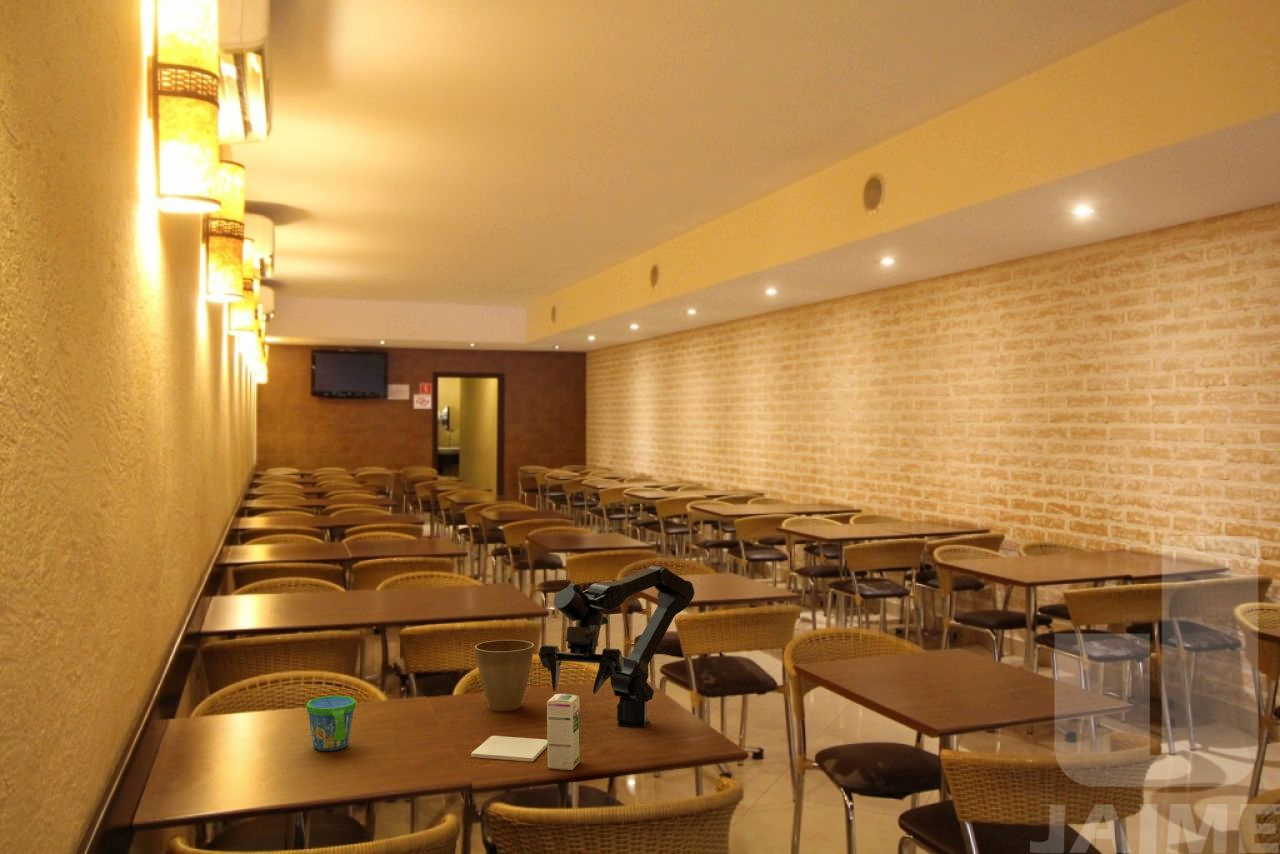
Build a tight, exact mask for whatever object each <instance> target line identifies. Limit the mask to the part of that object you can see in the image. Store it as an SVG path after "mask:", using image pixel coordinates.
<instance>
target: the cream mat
mask: <svg viewBox="0 0 1280 854" xmlns="http://www.w3.org/2000/svg"><path fill="white" fill-rule="evenodd" d="M546 749H547V738H546V739H542V738H532V737H531V738H529V737H518V736H517V737H516V736H515V737H514V736H502V735H491V736H490V737H488V738H487V739H486V740H485V741H484V742H482V743H481V745H479V746H478V747H477V748H476V749H474V750H473V751H472V752H471V753H470V757H471V758H477V759H478V758H481V759H491V760H492V759H493V760H505V761H506V760H507V761H519V762H531V763H533V762H534V761H535V760H536V759H537V758H538V757H539V756H540V755H542V753H543V752H544V751H545V750H546Z"/></svg>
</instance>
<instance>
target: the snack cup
mask: <svg viewBox="0 0 1280 854" xmlns="http://www.w3.org/2000/svg"><path fill="white" fill-rule="evenodd" d="M356 702H357V701H356V699H355V698H354V697H350V696H345V695H328V696H319V697H316V698H313V699H311V700H308V701H307V703H306V705H305V707H306V711H307V713H308V719H309V726H310V732H311V741H312V745H313V748H315V749H316V750H317V751H324V752H333V751H338V750H339V751H340V750H343V749H344V748H346V747H348V745H349V742H350V741H349V740H350V737H351V729H352V724H353V718H354V717H353V715H354V711H355V708H356V707H357V703H356Z"/></svg>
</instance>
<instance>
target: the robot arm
mask: <svg viewBox="0 0 1280 854" xmlns="http://www.w3.org/2000/svg"><path fill="white" fill-rule="evenodd" d="M653 587H654V589H655V590H656V591H658V592H657V595H656V596H657V606H656V609H654V612H653V614H652V615H651V617H650V619H649V620H648V623H647V625H646V626H645V628H644V630H643V631H642V634H641V635H640V637H639V639H638V640H637V642H636V643H635V646H634V648H633V650H632V652H631V653H630V654H629V655H628V656H626V657H624V656H623V655H622V651H621V650H620V648H607V647H605V648H602V653H601V654H600V653H596V651H597V647H599V636H600V633H601V628H602V626H604V625H607V624H608V623H609V621H608V618H607V617H606V616H605V613H604V612H601V611H600V609H601V610H607V611H614V610H616V609H617V608H619V607H620V606H622V605H623V604H624V603H625V601H626V599H627V598H629V597H632V596H634V595H636V594H639V593H642V592H643V591H645V590H648V589H651V588H653ZM694 597H695V589H694V586H693V584H692V582H691V581H690V580H685V579H684V578H682V577H680V576H679V575H677V574H675V573H673V572H672V571H670V570H669V568H667V567H665V566H659V565H658V566H657V565H650V566H649V567H648V568H645V569H644V570H641V571H639V572H636V573H634V574H630V575H628V576H626V577H623V578H621V579H619V580H613V581H601V582H594V583H593V584H591V585H589V587H588V588H587V589H586V590H583V591H582V590H581V588H580V587H579V586H578V584H575V583H569V584H568V586H567V587H564V588H563V589H561V590H560V591H559V592H558V593H556V595H555V596H554V599H553V606H554V607H555V608H556V609H557V610H558V611H559V612H560V613H561V614H563V615H564V616H565V617H566V618H567V619H568V620H569V621H570V622H575V621H576V623H575V626H567V627H566V636H565V642H567V649H568V650H570V651H560V648H559V645H554V644H553V645H549V644H543V645H541V647H540V648H539V649H538V657H539V660H540V663H541V665H542V667H543V668H546V670H547V671H549V672H550V676H551V684H552V690H553V692H556V691H557V689H558V685H559V680H560V676H561V664H562V662H571V663H572V662H573V663H574V662H575V663H587V664H588V663H589V664H598V669H597V672H596V673H597V674H596V678H595V681H594V684H593V689H592V692H593V694H594V695H596V694H597V693H598V691H599V690H600V689H601V687H602V686H603V685H604V684H605V683H606V682H607V681H608V679H609V680H610V686H611V688H612V691H613V694H614V696H615V697H619V702H618V703H617V706H616V707H617V709H616V711H617V712H616V715H617V717H616V720H617V726H620V727H621V726H622V727H635V728H644V727H645V726H646V725H647V723H648V722H649V717H648V702H649V701H650V700H651V701H652V700H653V697H654V692H655V691H654V689H653V688H652V687H651V685H650V684H649V683H648V680H649V674H650V673H649V664H650V663H651V661H652V659H653V657H654V655H655V653H656V652H657V649H658V648H659V645H660V644H661V642H662V640H663V639H664V637H665V635H666V634H667V631H668V629H669V628H670V626H671V624H672V622H673V620H674V618H675V617H676V615H678V614H680V613H681V612H682V611H684V610H685V609H686V608H687V607H688V606H689V604H690V603H691V602H692V601H693V599H694Z"/></svg>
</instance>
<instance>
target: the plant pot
mask: <svg viewBox="0 0 1280 854" xmlns="http://www.w3.org/2000/svg"><path fill="white" fill-rule="evenodd" d="M534 646H535V644H534V642H531V641H527V640H518V639H499V640H498V639H497V640H489V641H484V642H480V643H478V644H476V645H475V646H474V650H475V656H476V657H475V658H476V662H477V666H478V667H477V668H478V673H479V676H480V681H481V684H482V688H483V692H484V695H485V697H486V698H485V699H486V700H487V703H488V706H489V708H490V709H491V710H492V711H494V712H495V711H496V712H511V711H515V710H518V709H519V708H520V707H521V704H522V701H523V698H524V695H525V693H526V690H527V689H526V688H527V685H528V681H529V677H530V672H531V668H532V663H533V655H534V648H535V647H534Z"/></svg>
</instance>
